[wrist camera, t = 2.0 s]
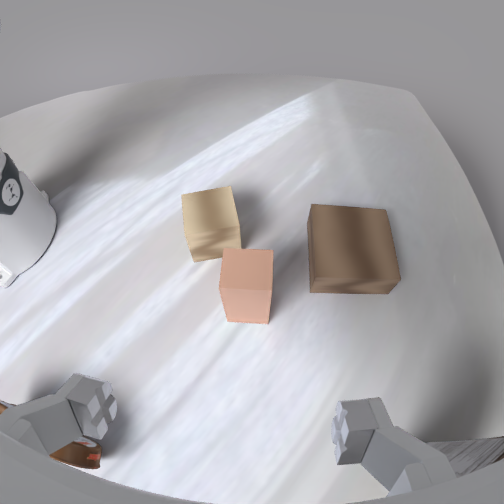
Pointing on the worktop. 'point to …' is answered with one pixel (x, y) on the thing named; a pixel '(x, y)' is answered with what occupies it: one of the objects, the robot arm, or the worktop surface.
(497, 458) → the coffee box
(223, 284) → the terracotta block
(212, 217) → the oak cube
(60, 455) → the tin
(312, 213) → the walnut block
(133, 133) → the worktop surface
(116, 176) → the worktop surface
